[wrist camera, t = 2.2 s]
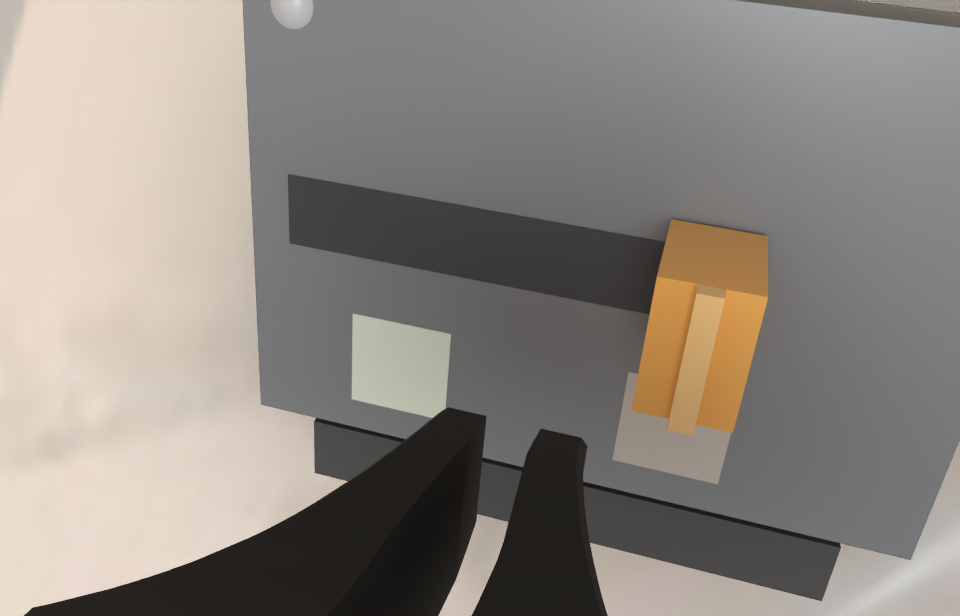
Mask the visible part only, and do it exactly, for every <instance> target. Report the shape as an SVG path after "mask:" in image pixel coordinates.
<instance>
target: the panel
mask: <svg viewBox="0 0 960 616" xmlns="http://www.w3.org/2000/svg"><path fill="white" fill-rule="evenodd" d="M243 20H244V42H245V64H246V85H247V107H248V129H249V151H250V173H251V195H252V217H253V238H254V260H255V282H256V304H257V326H258V348H259V370H260V391H261V405H265V406H270V407H274V408H278V409H282V410H286V411H290V412H295V413H299V414H303V415H307V416H311V417H315V418H320V419H324V420H328V421H332V422H336V423H341V424H345V425H349V426H353V427H357V428H361V429H366V430H370V431H374V432H378V433H382V434H386V435H391V436H395V437H399V438H403V439H407V438H408V437H409V436H411V435H412V434H413V433H415V432H416V431H417V430H418V429H420V428H421V427H422V426H423V425H425V424H426V423H427V422H428V421H430V420H431V419H432V418H433V417H435V416H436V415H437V414H438V413H440V412H441V411H443V410H444V409H446V408H447V407H450V408H454V409H458V410H463V411H467V412H471V413H476V414H480V415H485V416H487V417H486V427H485V437H484V448H483V458H487V459H491V460H495V461H499V462H503V463H508V464H512V465H516V466H520V467H523V466H524V463H525V459H526V455H527V452H528V451H529V449H530V447H531V445H532V443H533V441H534V439H535V437H536V436H537V434H538V432H539V431H540V429H546V430H550V431H554V432H559V433H563V434H567V435H572V436H576V437H580V438H582V439H583V440H584V442H585V443H586V444H587V446H588V448H587V454H586V460H585V466H584V472H583V482H587V483H591V484H595V485H600V486H604V487H608V488H612V489H616V490H620V491H625V492H629V493H633V494H637V495H641V496H645V497H650V498H654V499H658V500H662V501H666V502H671V503H675V504H679V505H683V506H687V507H691V508H696V509H700V510H704V511H708V512H712V513H716V514H721V515H725V516H729V517H733V518H737V519H742V520H746V521H750V522H754V523H758V524H762V525H767V526H771V527H775V528H779V529H783V530H788V531H792V532H796V533H800V534H804V535H808V536H813V537H817V538H821V539H825V540H829V541H833V542H838V543H842V544H846V545H850V546H854V547H859V548H863V549H867V550H871V551H875V552H879V553H884V554H888V555H892V556H896V557H900V558H904V559H909V560H911V557H912V555H913V552H914V550H915V547H916V545H917V543H918V540H919V538H920V535H921V533H922V530H923V528H924V526H925V523H926V521H927V518H928V516H929V513H930V511H931V509H932V506H933V504H934V501H935V499H936V496H937V494H938V491H939V489H940V487H941V484H942V482H943V479H944V477H945V474H946V472H947V470H948V467H949V465H950V462H951V460H952V457H953V455H954V453H955V450H956V448H957V445H958V443H959V440H960V13H952V12H944V11H936V10H927V9H919V8H911V7H902V6H894V5H886V4H877V3H869V2H860V1H852V0H243ZM671 219H674V220H679V221H685V222H691V223H696V224H702V225H708V226H714V227H719V228H725V229H731V230H737V231H742V232H748V233H754V234H760V235H765V236H768V301H767V304H766V308H765V312H764V316H763V320H762V324H761V327H760V331H759V335H758V339H757V343H756V347H755V350H754V354H753V358H752V362H751V366H750V370H749V373H748V377H747V381H746V385H745V389H744V392H743V396H742V400H741V404H740V408H739V412H738V415H737V419H736V423H735V427H734V431H733V433H730V432H726V431H721V430H717V429H712V428H708V427H703V426H698V425H695V429H694V433H693V436H691V435H686V434H682V433H678V432H673V431H669V430H667V426H668V420H669V419H667V418H662V417H658V416H653V415H649V414H644V413H640V412H635V411H631V409H632V404H633V398H634V393H635V388H636V383H637V378H638V372H639V367H640V362H641V357H642V352H643V346H644V341H645V336H646V331H647V326H648V320H649V315H650V310H651V305H652V299H653V294H654V289H655V284H656V279H657V274H658V270H659V266H660V262H661V258H662V254H663V250H664V246H665V242H666V238H667V234H668V230H669V226H670V222H671Z"/></svg>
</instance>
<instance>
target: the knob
mask: <svg viewBox="0 0 960 616" xmlns="http://www.w3.org/2000/svg"><path fill="white" fill-rule="evenodd" d="M767 301H768V236H765V235H760V234H754V233H748V232H742V231H737V230H731V229H725V228H719V227H714V226H708V225H702V224H696V223H691V222H685V221H679V220H674V219H671V222H670V226H669V230H668V234H667V238H666V242H665V246H664V250H663V254H662V258H661V262H660V266H659V270H658V274H657V279H656V284H655V289H654V294H653V299H652V305H651V310H650V315H649V320H648V326H647V331H646V336H645V341H644V346H643V352H642V357H641V362H640V367H639V372H638V378H637V383H636V388H635V393H634V398H633V404H632V409H631V411H635V412H640V413H644V414H649V415H653V416H658V417H662V418H667V419H669V420H668V426H667V430H669V431H673V432H678V433H682V434H686V435H691V436H693V433H694V429H695V425H698V426H703V427H708V428H712V429H717V430H721V431H726V432H730V433H733V431H734V427H735V423H736V419H737V415H738V412H739V408H740V404H741V400H742V396H743V392H744V389H745V385H746V381H747V377H748V373H749V370H750V366H751V362H752V358H753V354H754V350H755V347H756V343H757V339H758V335H759V331H760V327H761V324H762V320H763V316H764V312H765V308H766V304H767Z"/></svg>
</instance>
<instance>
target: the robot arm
mask: <svg viewBox="0 0 960 616" xmlns="http://www.w3.org/2000/svg"><path fill="white" fill-rule="evenodd" d="M486 417H487V416H485V415H480V414H476V413H471V412H467V411H463V410H458V409H454V408H450V407H447V408H446V409H444V410H443V411H441V412H440V413H438V414H437V415H436V416H435V417H433V418H432V419H431V420H430V421H428V422H427V423H426V424H425V425H423V426H422V427H421V428H420V429H418V430H417V431H416V432H415V433H413V434H412V435H411V436H409V437H408V438H407V439H406V440H404V441H403V442H402V443H400V444H399V445H398V446H397V447H395V448H394V449H393V450H391V451H390V452H389V453H387V454H386V455H385V456H383V457H382V458H380V459H379V460H378V461H376V462H375V463H374V464H372V465H371V466H369V467H368V468H367V469H365V470H364V471H363V472H361V473H360V474H358V475H357V476H355V477H354V478H352V479H351V480H350V481H348V482H346V483H345V484H343V485H342V486H340V487H339V488H337V489H336V490H334V491H332V492H331V493H329V494H328V495H326V496H325V497H323V498H322V499H320V500H318V501H317V502H315V503H314V504H312V505H310V506H309V507H307V508H305V509H304V510H302V511H300V512H298V513H297V514H295V515H293V516H291V517H290V518H288V519H286V520H284V521H282V522H280V523H278V524H276V525H275V526H273V527H271V528H269V529H267V530H265V531H263V532H261V533H259V534H257V535H255V536H252V537H250V538H248V539H246V540H243V541H241V542H239V543H236V544H234V545H232V546H229V547H227V548H224V549H222V550H220V551H217V552H215V553H213V554H210V555H208V556H206V557H203V558H201V559H199V560H196V561H193V562H191V563H188V564H185V565H183V566H180V567H177V568H174V569H171V570H169V571H166V572H163V573H160V574H157V575H154V576H151V577H148V578H144V579H141V580H138V581H135V582H132V583H129V584H125V585H122V586H118V587H115V588H112V589H108V590H104V591H100V592H96V593H92V594H88V595H84V596H80V597H76V598H72V599H68V600H64V601H60V602H56V603H52V604H48V605H43V606H39V607H34V608H32V609H31V610H30V611H29V612H28V613H26V614H25V615H24V616H438V615H439V613H440V611H441V609H442V607H443V605H444V603H445V601H446V599H447V597H448V595H449V593H450V591H451V588H452V586H453V584H454V582H455V580H456V578H457V575H458V572H459V569H460V567H461V564H462V561H463V558H464V555H465V553H466V550H467V547H468V544H469V541H470V538H471V535H472V532H473V529H474V526H475V523H476V518H477V508H478V498H479V488H480V478H481V468H482V458H483V448H484V437H485V427H486ZM587 448H588V446H587V444H586V443H585V442H584V440H583V439H582V438H580V437H576V436H572V435H567V434H563V433H559V432H554V431H550V430H546V429H540V431H539V432H538V434H537V436H536V437H535V439H534V441H533V443H532V445H531V447H530V449H529V451H528V452H527V455H526V459H525V463H524V466H523V470H522V474H521V478H520V481H519V485H518V489H517V493H516V497H515V500H514V504H513V508H512V512H511V516H510V520H509V523H508V527H507V531H506V535H505V539H504V542H503V545H502V548H501V551H500V554H499V557H498V560H497V562H496V565H495V567H494V569H493V571H492V573H491V576H490V578H489V580H488V582H487V584H486V587H485V589H484V591H483V593H482V595H481V598H480V600H479V602H478V604H477V606H476V608H475V610H474V612H473V614H472V616H607V613H606V609H605V606H604V602H603V599H602V595H601V591H600V588H599V584H598V580H597V575H596V571H595V566H594V562H593V557H592V552H591V547H590V542H589V535H588V528H587V521H586V514H585V504H584V487H583V472H584V466H585V460H586V454H587Z"/></svg>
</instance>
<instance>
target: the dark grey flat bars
mask: <svg viewBox="0 0 960 616" xmlns="http://www.w3.org/2000/svg"><path fill="white" fill-rule="evenodd" d="M404 440H406V439H403V438H399V437H395V436H391V435H386V434H382V433H378V432H374V431H370V430H366V429H361V428H357V427H353V426H349V425H345V424H341V423H336V422H332V421H328V420H324V419H320V418H316V420H315V421H314V447H315V473H318V474H322V475H326V476H330V477H334V478H337V479H341V480H345V481H350V480H351V479H352V478H354V477H355V476H357V475H358V474H360V473H361V472H363V471H364V470H365V469H367V468H368V467H369V466H371V465H372V464H374V463H375V462H376V461H378V460H379V459H380V458H382V457H383V456H385V455H386V454H387V453H389V452H390V451H391V450H393V449H394V448H395V447H397V446H398V445H399V444H400V443H402V442H403V441H404ZM522 470H523V467H520V466H516V465H512V464H508V463H503V462H499V461H495V460H491V459H487V458H482V468H481V478H480V488H479V498H478V508H477V514H480V515H484V516H488V517H491V518H495V519H499V520H503V521H507V522H509V520H510V516H511V512H512V508H513V504H514V500H515V497H516V493H517V489H518V485H519V481H520V478H521V474H522ZM583 487H584V504H585V514H586V521H587V528H588V535H589V542H590V543H594V544H598V545H602V546H606V547H610V548H614V549H618V550H622V551H626V552H630V553H634V554H638V555H642V556H646V557H649V558H653V559H657V560H661V561H665V562H669V563H673V564H677V565H681V566H685V567H689V568H693V569H697V570H701V571H705V572H709V573H713V574H717V575H721V576H725V577H728V578H732V579H736V580H740V581H744V582H748V583H752V584H756V585H760V586H764V587H768V588H772V589H776V590H780V591H784V592H788V593H792V594H796V595H800V596H803V597H807V598H811V599H815V600H819V601H822V599H823V596H824V593H825V590H826V588H827V585H828V582H829V579H830V576H831V574H832V571H833V568H834V565H835V562H836V560H837V557H838V554H839V551H840V549H841V546H840V543H838V542H833V541H829V540H825V539H821V538H817V537H813V536H808V535H804V534H800V533H796V532H792V531H788V530H783V529H779V528H775V527H771V526H767V525H762V524H758V523H754V522H750V521H746V520H742V519H737V518H733V517H729V516H725V515H721V514H716V513H712V512H708V511H704V510H700V509H696V508H691V507H687V506H683V505H679V504H675V503H671V502H666V501H662V500H658V499H654V498H650V497H645V496H641V495H637V494H633V493H629V492H625V491H620V490H616V489H612V488H608V487H604V486H600V485H595V484H591V483H587V482H583Z"/></svg>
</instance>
